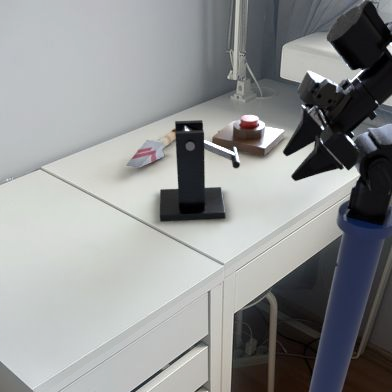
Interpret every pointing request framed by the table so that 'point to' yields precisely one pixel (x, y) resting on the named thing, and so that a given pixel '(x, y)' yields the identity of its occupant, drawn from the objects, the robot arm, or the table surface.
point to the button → (249, 122)
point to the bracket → (191, 180)
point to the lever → (220, 150)
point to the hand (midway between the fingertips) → (288, 166)
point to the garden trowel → (151, 151)
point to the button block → (248, 138)
